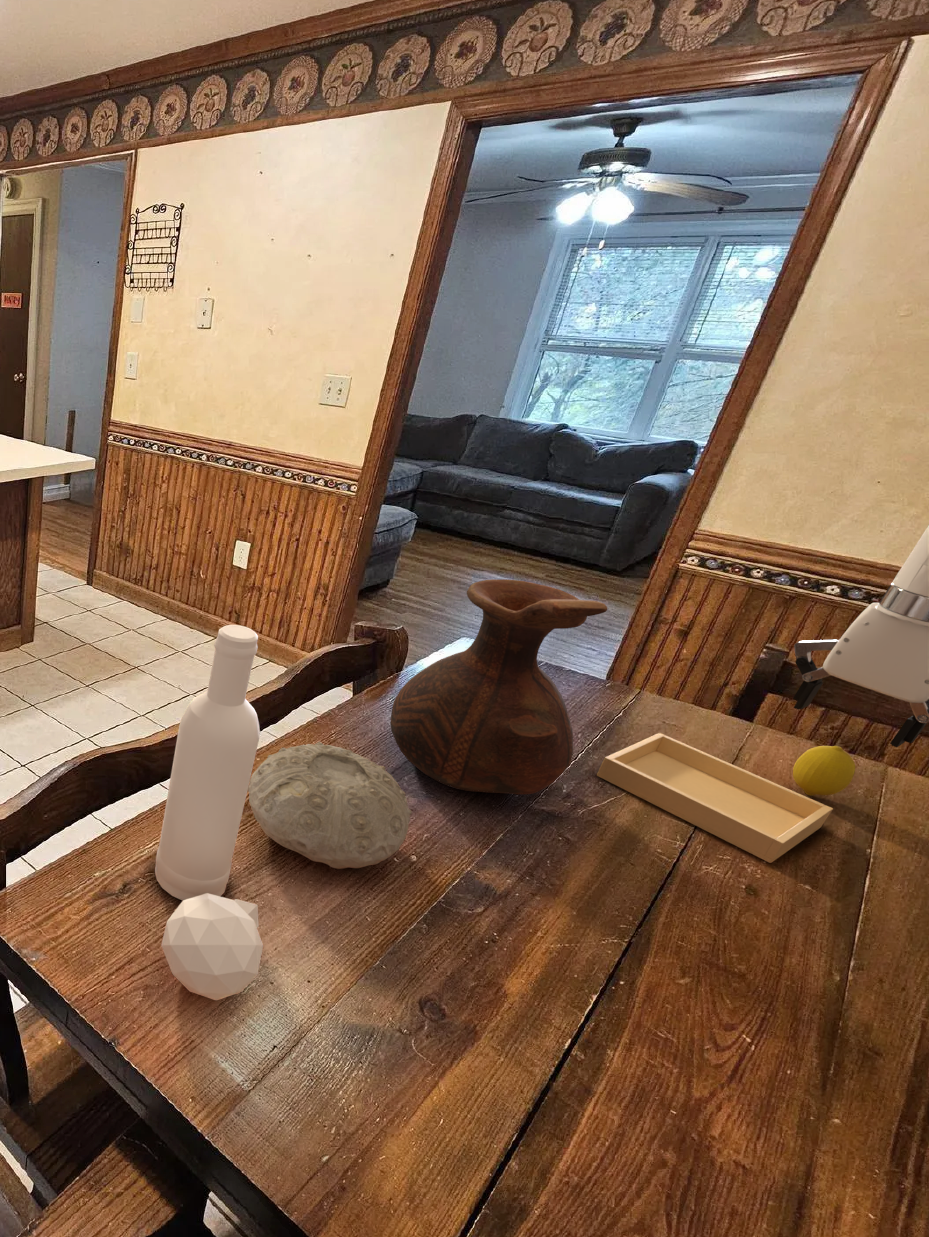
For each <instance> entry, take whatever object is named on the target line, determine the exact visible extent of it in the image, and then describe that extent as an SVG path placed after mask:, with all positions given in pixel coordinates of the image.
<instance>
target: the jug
mask: <svg viewBox="0 0 929 1237" xmlns="http://www.w3.org/2000/svg"><path fill="white" fill-rule="evenodd" d="M466 596H467V598H468V600H469V601H470V602H471V604H473V605H474V606H476V607H477V608H479V609H481V610H482V621H481V624H480V626H479V630H478V633H477V634H476V637H475V639H474V640H473V642H472V643H471V644H470V645H469V646H468V647H467V648H466V649H465V650H463V651H460V652H457V653H453V654H451V655H449V656H446V657H443V658H441V659H438V660H436V661H435V662H432V663H431V664H429V665H428V666H426V667H425V668H423V669H422V670H420V671H419V672H418V673H416V674H415V675H414V676H413V677H412V678H410V679H409V680H408V681H407V682H406V683H405V684H404V685H403V686H402V688H400V690H399V691H398V693H397V695H396V696H395V698H394V700H393V704H392V707H391V712H390V731H391V734H392V737H393V738H394V741H395V743H396V745H397V747H398V749H399V750H400V752H401V753H402V755H404V757H405V758H406V760H408V761H409V762H410V763H411V764H412V765H413V766H415V768H417V769H418V770H419V771H420V772H422V773H423V774H424V775H426V776H427V777H429V778H431V779H432V780H434V781H436V782H438V783H440V784H442V785H444V786H447V787H449V788H453V789H457V790H461V791H466V792H475V793H490V794H493V793H494V794H511V795H531V794H532V795H533V794H535V793H538V792H540V791H542V790H544V789H545V788H547V787H548V786H550V785H551V784H553V783H554V782H556V781H557V780H558V779H559V778H560V777H561V776H562V775H563V773H564V772H565V771H566V770H567V769H568V768H569V766H570V765H571V762H572V758H573V754H574V730H573V725H572V722H571V719H570V714H569V711H568V708H567V705H566V702H565V700H564V698H563V696H562V693H561V691H560V690H559V689H558V687H557V685H556V683H555V682H554V681H553V680H552V678H551V676H549V675H548V674H547V672H545V671H544V670H543V669H542V668H541V667H540V666H539V664H538V654H539V650H540V648H541V645H542V643H543V641H544V640H545V638H546V637H548V635H549V634H550V633H551V632H552V631H553V630H566V629H573V628H578V627H580V626H582V625H583V624H584V623H585V622H586V621H587V618H588V617H592V616H597V615H601V614H604V613H606V612H608V606H607V605H606V604H605V603H604V602H601V601H597V600H590V599H580V598H578V597H576V596H575V595H573V594H571V593H569V592H566V591H564V590H561V589H559V588H556V587H552V586H548V585H544V584H539V583H535V582H530V581H526V580H519V579H510V578H509V579H508V578H507V579H505V578H504V579H502V578H501V579H500V578H499V579H498V578H497V579H495V578H494V579H483V580H479V581H476V582H473V583H472V584H470V585H469V586H468V589H467V591H466Z"/></svg>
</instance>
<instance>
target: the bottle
mask: <svg viewBox="0 0 929 1237" xmlns="http://www.w3.org/2000/svg"><path fill="white" fill-rule="evenodd" d="M258 640H259V636H258V634H257V633H256V631H255V630H253V629H252V628H250V627H248V626H244V625H240V624H227V625H224V626H222V627H220V628H219V629H218V632H217V637H216V638H215V640H214V642H213V643H214V644H213V645H214V654H213V658H212V663H211V670H210V675H209V680H208V685H207V686H208V687H207V690H206V691H205V692H203V693H201V694H199V695H196V696H195V697H194V698H192V699H191V701H190V702H189V703H188V705H187V707H186V708H185V710H184V712H183V714H182V715H181V718H180V721H179V726H178V731H177V737H176V743H175V748H174V755H173V759H172V760H173V761H172V767H171V771H170V779H169V784H168V790H167V796H166V801H165V802H166V803H165V808H164V813H163V814H164V815H163V821H162V826H161V832H160V837H159V844H158V847H157V851H156V855H155V867H154V874H155V879H156V881H157V883H158V884H159V886H160V887H161V888H162V889H163V890H164V891H165V892H167V893H168V894H169V895H170V896H172V897H174V898H176V899H178V900H181V901H183V900H186V899H190V898H193V897H196V896H199V895H203V894H206V893H209V894H212V895H216V896H220V897H222V895H223V894H224V893H226V888H227V884H228V882H229V879H230V875H231V870H232V865H233V862H232V861H233V857H234V852H235V848H236V843H237V839H238V835H239V830H240V825H241V822H242V817H243V813H244V809H245V808H244V807H245V803H246V800H247V794H248V787H249V784H250V779H251V776H252V774H253V773H252V772H253V769H254V763H255V760H256V755H257V751H258V747H259V746H258V745H259V742H260V738H261V737H260V736H261V730H260V722H259V718H258V714H257V712H256V710H255V708H254V706H252V704H251V703H250V702H249V701H248V700H247V698H246V696H247V692H248V687H249V682H250V678H251V672H252V668H253V663H254V658H255V656H256V655H257V652H258V648H259V646H258Z"/></svg>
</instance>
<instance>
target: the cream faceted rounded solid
mask: <svg viewBox="0 0 929 1237" xmlns="http://www.w3.org/2000/svg"><path fill="white" fill-rule="evenodd" d="M259 923H260V922H259V906H258V904H256V903H253V902H250V901H246V900H242V899H238V898H235V899H231V898H228V897H224V896H216V895H212V894H209V893H206V894H203V895H199V896H196V897H193V898H190V899H186V900H181V902H180V903H179V905H178V906H177V907H176V909H175V910H174V911H173V913H172V914H171V915H170V917H169V918H168V919H167V921H166V924H165V928H164V932H163V936H162V941H161V945H160V946H161V949H162V952H163V953H164V956H165V959H166V962H167V964H168V967H169V970H170V971H171V974H172V976H173V977H175V979H177V980H178V982H180V983H181V984H182V985H183V987H184V988H186V990H188V992H190V993H193V994H196V995H199V996H202V997H205V998H208V999H210V1000H213V1001H219V1000H222V999H225V998H228V997H231V996H234V995H237V994H239V993H242V992H243V991H244V990H245V989H246V988H247V987H248V985H250V983H252V981H253V980H254V979H255V978H256V977H257V976H259V970H260V965H261V959H262V955H263V949H264V943H263V941H262V938H261V935H260V933H259V930H258V928H259V927H260V924H259Z"/></svg>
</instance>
